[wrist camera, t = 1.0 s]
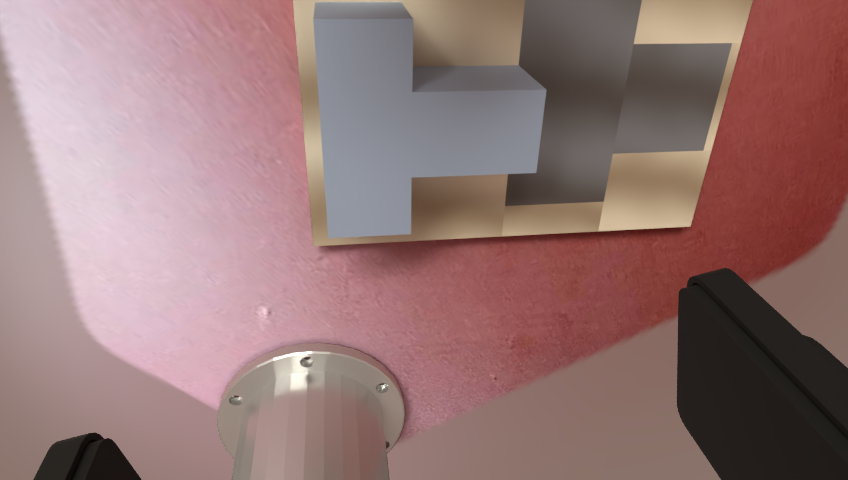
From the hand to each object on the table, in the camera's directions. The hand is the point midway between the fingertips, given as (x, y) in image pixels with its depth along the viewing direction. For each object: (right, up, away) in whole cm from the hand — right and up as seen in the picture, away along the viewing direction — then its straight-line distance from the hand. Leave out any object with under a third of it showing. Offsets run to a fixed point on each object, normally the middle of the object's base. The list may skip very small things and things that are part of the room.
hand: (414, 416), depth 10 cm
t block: (0, +10, +21) cm, 23 cm away
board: (+5, +11, +23) cm, 26 cm away
